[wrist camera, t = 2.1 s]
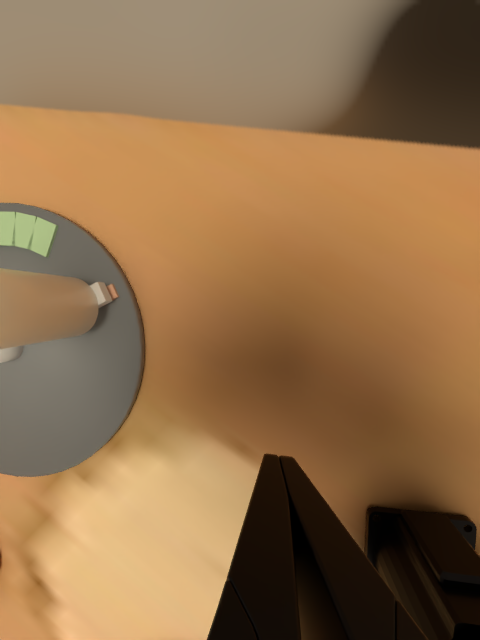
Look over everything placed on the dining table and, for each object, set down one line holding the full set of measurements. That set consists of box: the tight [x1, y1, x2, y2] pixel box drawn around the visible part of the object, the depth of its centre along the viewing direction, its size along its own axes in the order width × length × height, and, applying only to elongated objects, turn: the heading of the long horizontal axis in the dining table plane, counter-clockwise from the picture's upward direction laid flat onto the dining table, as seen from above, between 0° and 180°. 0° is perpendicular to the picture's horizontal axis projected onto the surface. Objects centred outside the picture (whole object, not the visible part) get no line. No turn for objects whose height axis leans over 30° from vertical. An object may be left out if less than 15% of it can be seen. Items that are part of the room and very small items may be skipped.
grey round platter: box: [0, 203, 145, 477], centre depth 19 cm, size 21×21×2 cm
